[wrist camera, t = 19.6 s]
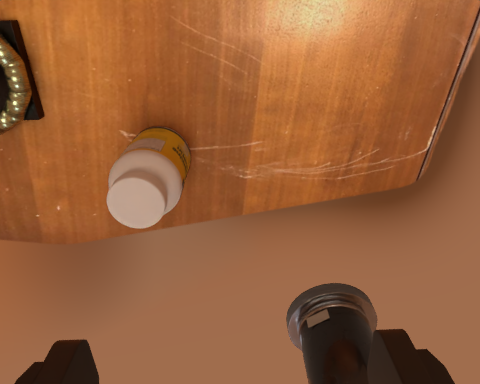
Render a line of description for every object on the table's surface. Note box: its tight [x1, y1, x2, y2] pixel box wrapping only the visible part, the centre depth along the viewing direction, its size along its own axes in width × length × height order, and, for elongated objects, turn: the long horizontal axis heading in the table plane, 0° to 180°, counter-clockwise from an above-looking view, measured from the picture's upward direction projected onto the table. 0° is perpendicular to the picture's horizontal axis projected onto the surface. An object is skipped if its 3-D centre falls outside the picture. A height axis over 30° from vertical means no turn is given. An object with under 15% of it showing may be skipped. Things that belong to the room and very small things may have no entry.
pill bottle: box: [107, 126, 191, 228], centre depth 34 cm, size 6×6×12 cm
